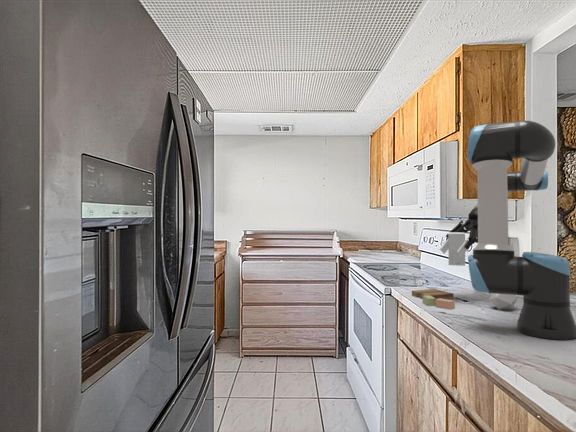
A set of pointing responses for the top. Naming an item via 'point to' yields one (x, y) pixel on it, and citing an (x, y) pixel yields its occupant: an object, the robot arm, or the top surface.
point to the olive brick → (429, 300)
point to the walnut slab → (433, 294)
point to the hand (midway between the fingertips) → (450, 252)
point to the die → (503, 301)
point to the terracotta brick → (445, 303)
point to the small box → (456, 248)
